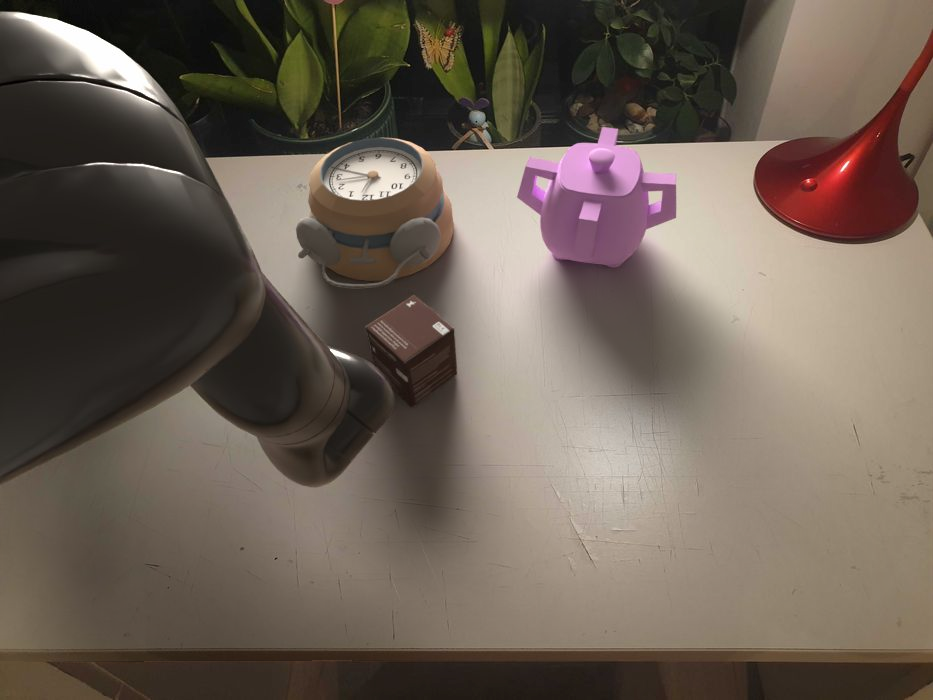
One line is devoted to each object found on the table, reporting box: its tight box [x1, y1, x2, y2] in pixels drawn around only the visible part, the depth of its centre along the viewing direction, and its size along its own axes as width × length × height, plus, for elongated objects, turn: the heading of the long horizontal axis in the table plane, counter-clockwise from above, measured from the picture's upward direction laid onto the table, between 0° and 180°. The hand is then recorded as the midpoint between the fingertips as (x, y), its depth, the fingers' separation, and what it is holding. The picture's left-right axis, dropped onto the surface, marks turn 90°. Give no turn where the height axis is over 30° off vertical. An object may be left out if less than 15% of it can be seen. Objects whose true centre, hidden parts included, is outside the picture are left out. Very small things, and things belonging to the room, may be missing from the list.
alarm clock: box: [295, 137, 455, 290], centre depth 74 cm, size 17×9×23 cm
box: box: [364, 294, 458, 408], centre depth 63 cm, size 6×6×7 cm
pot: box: [516, 126, 677, 268], centre depth 72 cm, size 18×17×12 cm
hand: (114, 237), depth 65 cm, fingers open, 8 cm apart
